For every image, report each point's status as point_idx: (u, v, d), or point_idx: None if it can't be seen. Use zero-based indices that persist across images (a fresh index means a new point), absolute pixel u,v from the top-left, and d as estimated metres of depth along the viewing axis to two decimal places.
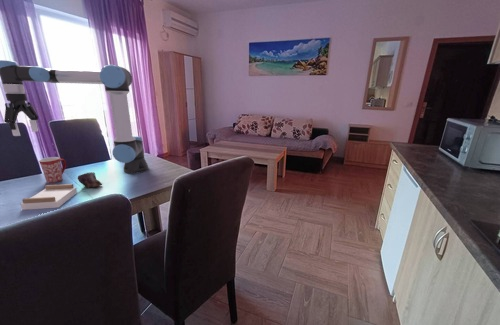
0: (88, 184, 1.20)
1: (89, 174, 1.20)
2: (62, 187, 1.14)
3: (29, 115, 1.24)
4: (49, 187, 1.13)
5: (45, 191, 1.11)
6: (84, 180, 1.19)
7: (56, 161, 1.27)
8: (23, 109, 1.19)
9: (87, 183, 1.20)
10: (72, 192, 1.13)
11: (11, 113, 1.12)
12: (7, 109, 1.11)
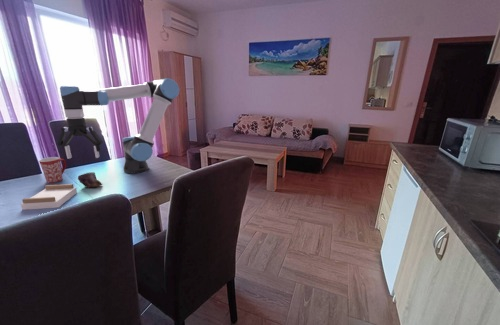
0: (88, 184, 1.20)
1: (89, 174, 1.20)
2: (62, 187, 1.14)
3: None
4: (49, 187, 1.13)
5: (45, 191, 1.11)
6: (84, 180, 1.19)
7: (56, 161, 1.27)
8: (79, 134, 1.15)
9: (87, 183, 1.20)
10: (72, 192, 1.13)
11: (61, 137, 1.14)
12: None
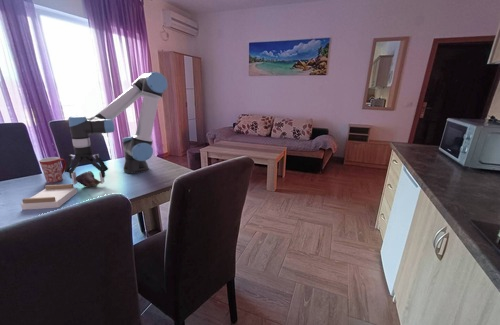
0: (87, 184, 1.20)
1: (85, 174, 1.19)
2: (62, 187, 1.14)
3: None
4: (49, 187, 1.13)
5: (45, 191, 1.11)
6: (82, 180, 1.19)
7: (56, 161, 1.27)
8: (85, 161, 1.20)
9: (86, 183, 1.20)
10: (72, 192, 1.13)
11: (67, 164, 1.18)
12: None
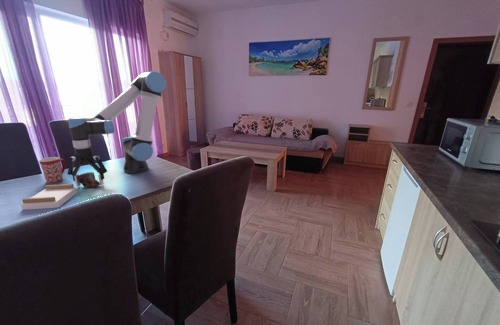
0: (87, 184, 1.21)
1: (88, 174, 1.20)
2: (62, 187, 1.14)
3: None
4: (49, 187, 1.13)
5: (45, 191, 1.11)
6: (83, 180, 1.20)
7: (56, 161, 1.27)
8: (86, 162, 1.20)
9: (86, 183, 1.20)
10: (72, 192, 1.13)
11: (69, 166, 1.19)
12: None
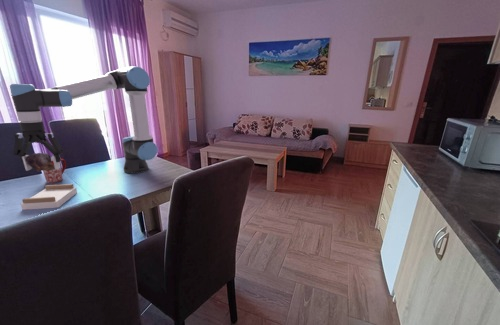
0: (37, 167, 0.99)
1: (38, 154, 0.99)
2: (62, 187, 1.14)
3: None
4: (49, 187, 1.13)
5: (45, 191, 1.11)
6: (32, 162, 0.98)
7: None
8: (36, 140, 0.98)
9: (36, 166, 0.99)
10: (72, 192, 1.13)
11: (15, 145, 0.97)
12: None
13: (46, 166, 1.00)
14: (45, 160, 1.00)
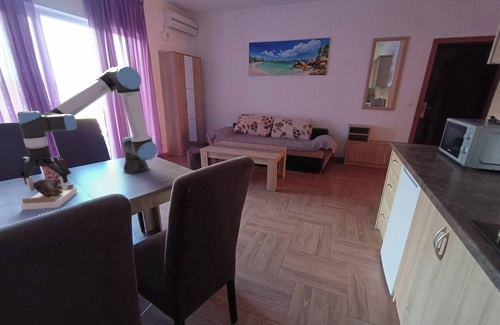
0: (44, 192, 1.03)
1: (45, 181, 1.02)
2: None
3: None
4: None
5: None
6: (39, 188, 1.02)
7: None
8: (42, 164, 1.02)
9: (43, 191, 1.03)
10: (72, 192, 1.13)
11: (21, 168, 1.00)
12: None
13: (53, 191, 1.04)
14: (52, 186, 1.04)
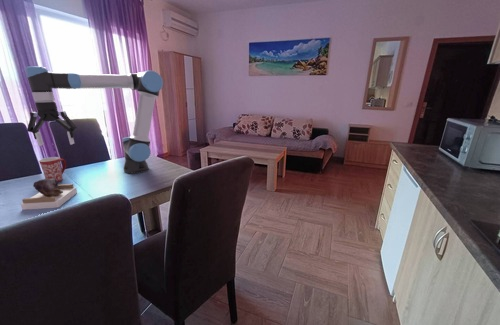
0: (45, 192, 1.03)
1: (46, 181, 1.02)
2: (62, 187, 1.14)
3: None
4: None
5: None
6: (40, 188, 1.02)
7: (56, 161, 1.27)
8: (50, 119, 1.08)
9: (43, 191, 1.03)
10: (72, 192, 1.13)
11: (30, 122, 1.07)
12: None
13: (53, 191, 1.04)
14: (52, 186, 1.04)
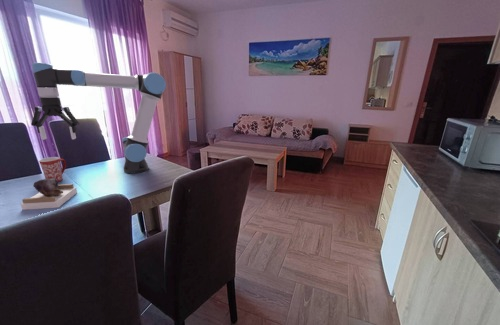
0: (45, 192, 1.03)
1: (46, 181, 1.02)
2: (62, 187, 1.14)
3: None
4: None
5: None
6: (40, 188, 1.02)
7: (56, 161, 1.27)
8: (53, 114, 1.12)
9: (43, 191, 1.03)
10: (72, 192, 1.13)
11: (34, 117, 1.11)
12: None
13: (53, 191, 1.04)
14: (52, 186, 1.04)
